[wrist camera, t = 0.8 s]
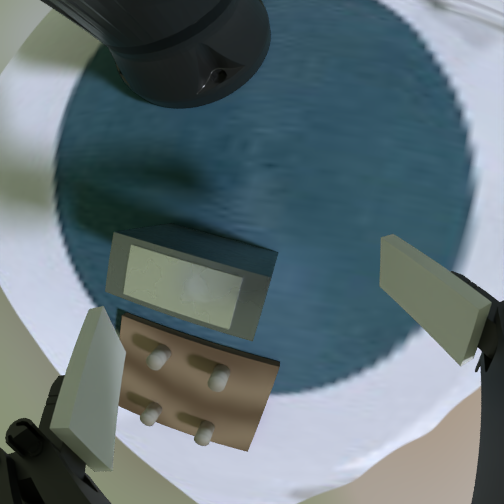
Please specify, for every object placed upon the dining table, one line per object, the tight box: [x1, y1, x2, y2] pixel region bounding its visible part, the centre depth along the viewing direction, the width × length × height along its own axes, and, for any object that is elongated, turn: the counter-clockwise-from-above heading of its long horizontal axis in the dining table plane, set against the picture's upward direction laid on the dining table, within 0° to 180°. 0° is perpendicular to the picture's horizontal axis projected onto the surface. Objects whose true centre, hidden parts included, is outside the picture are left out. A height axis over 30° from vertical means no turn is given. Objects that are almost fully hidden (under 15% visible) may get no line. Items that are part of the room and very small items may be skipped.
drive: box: [105, 223, 278, 341], centre depth 23 cm, size 4×10×10 cm, turn 75°
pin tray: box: [118, 313, 280, 452], centre depth 28 cm, size 12×16×4 cm
